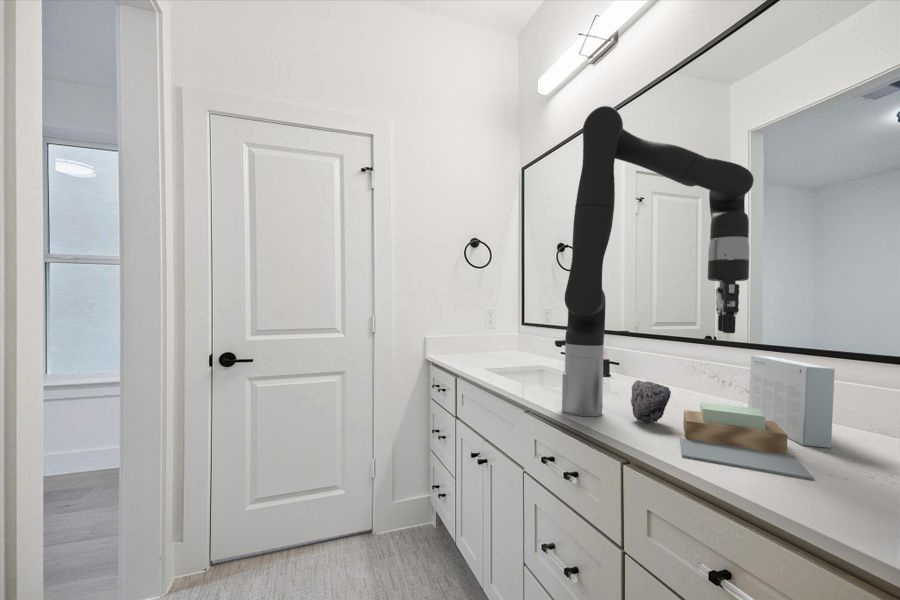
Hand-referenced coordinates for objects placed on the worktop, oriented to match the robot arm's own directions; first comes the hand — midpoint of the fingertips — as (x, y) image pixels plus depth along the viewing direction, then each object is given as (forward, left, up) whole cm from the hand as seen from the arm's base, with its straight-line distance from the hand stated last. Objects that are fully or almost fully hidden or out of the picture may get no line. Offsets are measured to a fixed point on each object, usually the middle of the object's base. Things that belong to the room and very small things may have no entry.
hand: (726, 332), depth 89 cm
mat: (0, -19, -22) cm, 29 cm away
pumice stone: (-15, -3, -22) cm, 27 cm away
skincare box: (+12, +7, -22) cm, 26 cm away
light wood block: (0, -8, -22) cm, 23 cm away
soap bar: (0, -8, -18) cm, 20 cm away
